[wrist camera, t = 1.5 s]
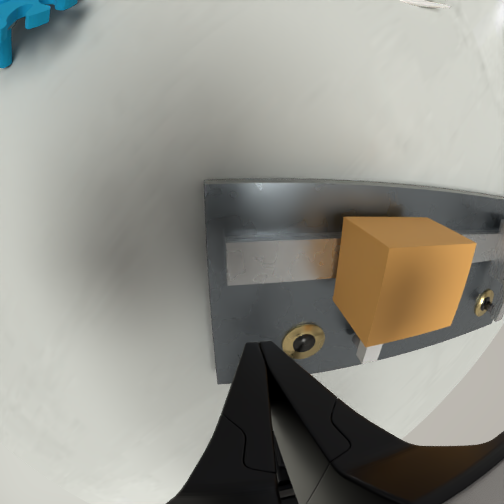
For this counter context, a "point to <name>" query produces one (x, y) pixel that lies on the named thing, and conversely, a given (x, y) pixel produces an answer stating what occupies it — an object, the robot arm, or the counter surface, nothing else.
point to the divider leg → (399, 278)
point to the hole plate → (327, 263)
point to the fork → (425, 3)
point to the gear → (36, 12)
